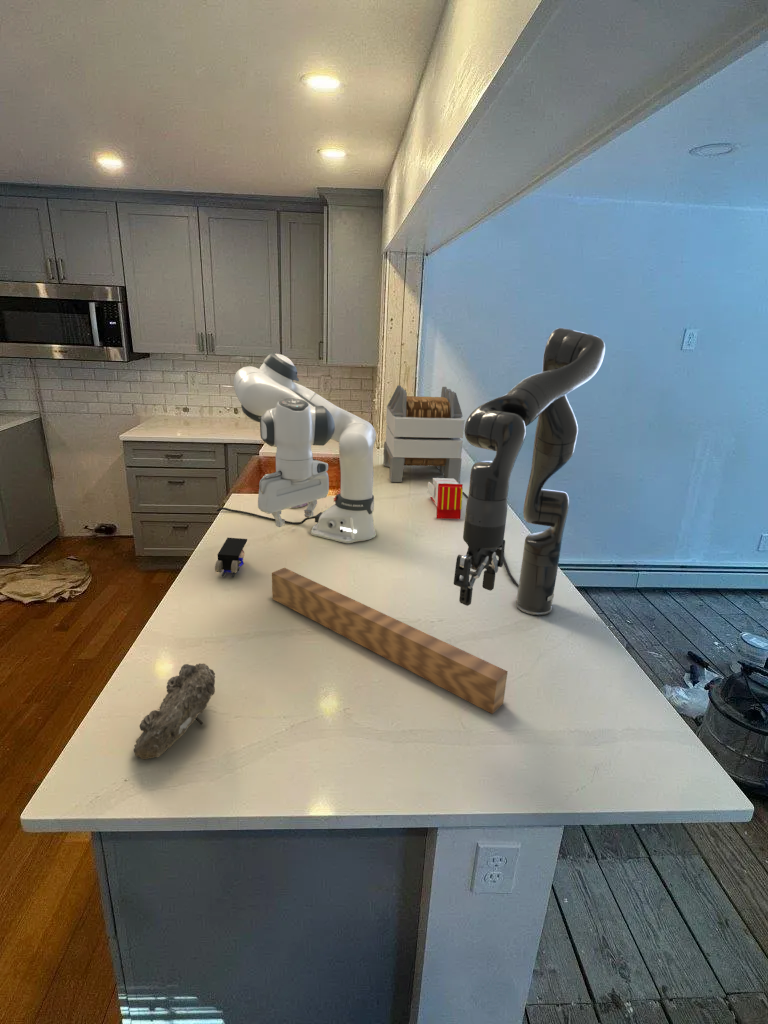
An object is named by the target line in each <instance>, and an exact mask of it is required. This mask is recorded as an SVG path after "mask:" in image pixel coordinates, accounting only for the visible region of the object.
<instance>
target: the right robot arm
mask: <svg viewBox="0 0 768 1024" xmlns="http://www.w3.org/2000/svg"><path fill="white" fill-rule="evenodd" d="M605 353H606V344H605V342H604V340H603V339H602V338H601V337H600V336H597V335H594V334H591V333H587V332H583V331H579V330H574V329H570V328H566V327H557V328H556V329H554V330H552V332H551V333H550V335H549V337H548V338H547V341H546V343H545V347H544V352H543V358H542V368H541V369H542V370H541V372H538V373H535V374H531V375H530V376H527V377H526V378H523V379H522V380H521V381H519V382H518V383H517V384H515V386H514V387H512V388H511V389H510V390H509V391H508V392H507V393H506V394H504V395H501V396H498V397H496V398H493V399H491V400H489V401H487V402H485V403H483V404H481V405H479V406H478V407H476V408H475V409H474V410H473V411H472V412H471V413H470V414H469V416H468V417H467V419H466V420H465V423H464V432H463V433H464V436H465V439H466V441H467V442H468V443H469V444H470V445H471V446H473V447H475V448H479V449H484V450H487V451H493V452H495V456H494V458H493V460H482V461H481V460H480V461H477V462H475V463H473V465H472V467H471V469H470V476H469V487H468V494H466V493H465V492H464V491H462V495H463V496H464V497H465V498H466V499H467V500H466V505H465V511H464V512H465V514H464V524H463V531H462V532H463V534H462V540H463V541H464V542H465V544H466V545H467V547H468V548H467V551H466V554H464V555H462V554H458V555H457V556H456V560H455V561H456V562H455V569H454V578H453V585H454V586H457V587H459V588H460V589H459V599H458V600H459V601H458V602H459V603H460V604H462V605H464V606H467V607H468V606H470V605H472V600H473V599H472V598H473V590H474V589H473V586H474V585H475V582H476V580H477V579H479V578H480V577H481V575H482V572H483V575H482V576H483V577H482V578H483V579H482V588H483V589H485V590H487V591H489V592H491V591H493V590H494V589H495V581H496V574H497V573H498V571H499V568H502V567H503V565H504V567H505V570H506V573H507V575H508V576H509V578H510V580H511V581H512V582H513V584H514V585H515V586H516V587H517V595H516V600H515V607H516V608H517V609H518V610H520V611H521V612H522V613H525V614H528V615H532V616H545V615H548V614H550V613H551V612H552V608H553V606H552V605H553V600H554V597H555V589H556V582H557V581H556V580H557V574H558V569H559V562H560V558H561V557H560V556H561V549H562V544H563V543H562V542H563V536H564V531H565V528H566V527H565V526H566V522H567V517H568V513H569V508H570V497H569V494H568V493H567V492H566V491H561V490H554V489H546V488H544V486H545V484H546V483H547V482H548V480H549V479H550V478H552V476H554V475H555V474H556V473H557V472H558V471H559V470H561V469H562V468H563V467H564V466H566V464H567V463H568V462H569V461H570V460H571V459H572V457H573V455H574V453H575V449H576V444H577V439H578V433H579V426H578V421H577V418H576V416H575V413H574V410H573V408H572V406H571V404H570V402H569V399H568V397H567V395H568V394H569V393H571V392H572V391H574V390H576V389H577V388H579V387H581V386H582V385H584V384H585V383H587V382H589V381H590V380H591V379H592V378H593V377H594V376H596V374H597V372H598V371H599V370H600V368H601V366H602V364H603V360H604V357H605ZM535 420H537V422H536V426H535V427H536V428H535V434H534V440H533V447H532V448H533V449H532V458H531V467H530V474H529V479H528V483H527V488H526V493H525V496H524V502H523V508H522V510H523V511H522V513H523V514H522V515H523V519H524V521H525V522H526V523H528V524H532V525H538V526H544V527H548V528H546V529H544V530H541V531H536V532H531V533H530V534H528V535H527V536H526V537H525V538H524V543H523V544H524V545H523V552H522V560H521V566H520V567H521V568H520V572H519V573H520V575H519V582H517V581H516V579H515V578H514V576H513V575H512V573H511V571H510V568H509V566H508V563H507V560H506V558H505V548H506V547H505V546H506V540H505V533H506V524H507V515H508V497H509V489H510V488H509V487H510V479H511V475H512V472H513V469H514V466H515V464H516V461H517V459H518V456H519V454H520V451H521V449H522V447H523V445H524V443H525V440H526V436H527V426H529V425H531V424H532V423H533V422H534V421H535ZM497 557H498V558H497Z"/></svg>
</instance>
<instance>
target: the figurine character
mask: <svg viewBox="0 0 768 1024" xmlns="http://www.w3.org/2000/svg"><path fill="white" fill-rule="evenodd" d="M247 542H248V538H240V537H226V539H225V541H224V543H223V544H222V546H221V547H220V549H219V551H218V552H217V560H216V562H215V564H214V572H215V573H221V577H222V578H224V577H225V576H226V574H227V573H230V574H231V573H232V574H231V578H234V577H235V575H236V573H237V572H239V571H240V567H242V566H243V565H244V564H245V562H244V558H245V551H244V547H245V546H246V544H247Z"/></svg>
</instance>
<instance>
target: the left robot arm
mask: <svg viewBox="0 0 768 1024" xmlns="http://www.w3.org/2000/svg"><path fill="white" fill-rule="evenodd" d="M260 365H261V366H259V368H258V367H256V366H251V365H248V366H242V367H241V368H239V369H238V370H237V371H236V372H235V374H234V377H233V381H232V382H233V383H232V384H233V389H234V394H235V396H236V398H237V399H238V402H240V405H241V407H240V408H241V410H242V412H243V414H244V415H245V416H246V417H247V418H248V419H250V420H252V421H253V422H256V423H259V433H260V439H261V440H262V441H263V442H264V443H265V444H267V446H269V447H273V448H276V452H275V471H273V472H272V473H266V474H264V475H263V477H262V478H261V479H260V480H259V483H258V485H259V488H258V497H257V508H258V509H259V511H260V512H262V513H264V514H268V515H270V514H271V515H272V517H270V516H269V517H268V516H264V515H261V514H256V513H252V512H249V511H243V510H238V509H232V508H228V507H218V508H217V510H216V512H220V511H227V512H231V513H238V514H244V515H247V516H252V517H256V518H258V519H259V518H260V519H263V520H267V521H273V522H275V527H277V528H282V527H285V526H286V524H288V525H294V526H295V525H299V526H300V525H303V524H304V523H305V522H307V521H308V520H312V519H314V523H315V524H314V525H313V526H312V528H311V530H310V533H311V536H315V537H319V538H323V539H326V540H330V541H336V542H339V543H343V544H352V543H357V542H365V541H368V540H372V539H373V538H375V537H376V535H377V532H376V528H375V523H374V513H373V512H374V509H375V496H374V447H375V444H376V443H375V442H376V441H377V432H376V429H375V427H374V426H373V424H372V423H371V422H369V421H368V420H366V419H364V418H362V417H360V416H358V415H355V414H354V413H352V412H350V411H348V410H346V409H344V408H341V407H339V406H338V405H336V404H334V403H332V402H331V401H329V400H328V399H326V398H325V397H323V396H321V395H320V394H318V393H316V392H315V391H313V390H312V389H310V388H308V387H306V386H304V385H303V384H300V383H297V382H299V381H300V379H299V377H298V369H297V366H296V365H295V364H294V363H293V361H292V359H290V358H289V357H288V356H286V355H283V354H281V353H275V352H271V353H269V354H268V355H266V357H265V358H264V359H263V363H261V364H260ZM294 381H296V382H294ZM330 440H332V441H335V442H336V443H338V455H339V457H338V458H339V469H340V490H339V491H338V492H337V494H336V495H335V496H334V497H333V502H334V504H333V505H331V506H329V507H328V508H326V509H325V510H323V512H322V511H320V512H319V513H317V514H316V515H314V511H315V509H316V507H317V505H318V500H321V499H324V498H327V496H328V494H329V492H330V478H329V473H328V470H329V464H328V462H325V461H322V460H319V459H315V458H314V454H313V450H312V446H321V447H323V446H325V445H326V444H327V443H329V442H330ZM304 503H307V507H306V509H304V517H305V518H304V519H302V521H298V522H297V521H295V522H294V521H289V520H286V519H284V518H282V517H281V515H282V511H284V510H287V509H292V508H291V507H294V506H298V505H301V504H304Z"/></svg>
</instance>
